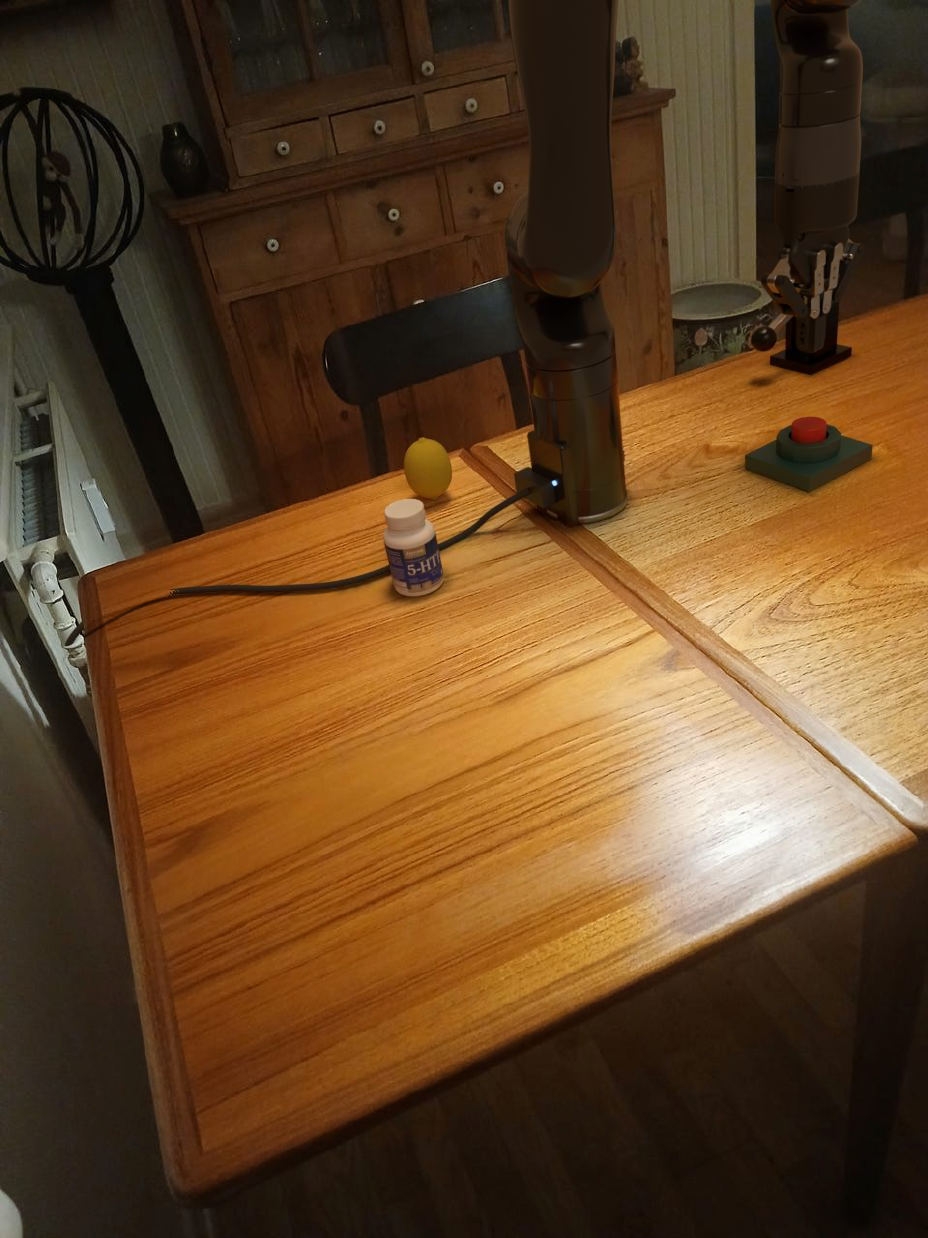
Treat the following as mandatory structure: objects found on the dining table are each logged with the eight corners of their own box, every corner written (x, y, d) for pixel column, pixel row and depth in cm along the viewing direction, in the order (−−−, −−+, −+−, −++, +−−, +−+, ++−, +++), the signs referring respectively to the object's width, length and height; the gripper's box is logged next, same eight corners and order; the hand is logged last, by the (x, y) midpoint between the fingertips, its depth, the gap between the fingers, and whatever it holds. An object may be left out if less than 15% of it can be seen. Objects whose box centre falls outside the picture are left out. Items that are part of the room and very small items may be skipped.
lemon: (435, 485, 117) (423, 424, 112) (466, 495, 113) (455, 433, 109) (402, 504, 114) (388, 443, 109) (433, 515, 110) (420, 452, 106)
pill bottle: (415, 603, 95) (398, 526, 90) (384, 587, 99) (366, 512, 94) (455, 579, 98) (440, 503, 93) (423, 564, 101) (407, 490, 96)
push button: (810, 448, 102) (811, 433, 101) (783, 439, 105) (784, 424, 104) (833, 436, 103) (834, 421, 102) (806, 428, 106) (807, 413, 105)
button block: (809, 492, 101) (810, 462, 99) (744, 468, 107) (744, 439, 105) (871, 458, 104) (874, 429, 102) (805, 437, 111) (806, 409, 109)
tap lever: (768, 359, 123) (761, 340, 121) (750, 354, 125) (742, 335, 123) (833, 290, 124) (827, 270, 122) (813, 286, 127) (807, 267, 124)
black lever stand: (810, 374, 126) (814, 284, 119) (769, 364, 131) (771, 277, 124) (851, 355, 129) (857, 266, 122) (809, 346, 134) (813, 260, 127)
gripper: (830, 153, 95) (822, 324, 105) (737, 187, 90) (738, 363, 100) (897, 156, 90) (882, 336, 99) (801, 192, 85) (795, 378, 94)
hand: (810, 349), depth 100 cm, fingers closed
